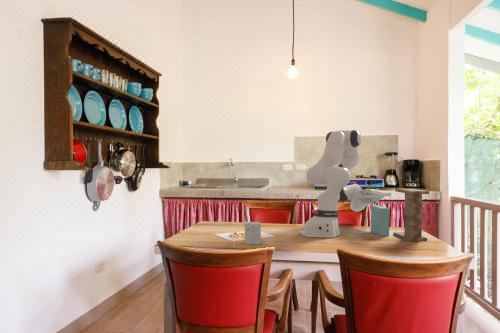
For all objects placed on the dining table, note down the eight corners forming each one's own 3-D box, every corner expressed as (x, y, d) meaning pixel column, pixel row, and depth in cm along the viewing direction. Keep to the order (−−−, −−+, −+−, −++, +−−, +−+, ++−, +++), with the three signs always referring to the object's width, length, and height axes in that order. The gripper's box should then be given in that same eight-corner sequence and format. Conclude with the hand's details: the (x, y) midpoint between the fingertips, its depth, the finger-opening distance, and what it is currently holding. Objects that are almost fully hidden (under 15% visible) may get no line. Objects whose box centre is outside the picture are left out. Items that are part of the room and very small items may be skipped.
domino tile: (384, 196, 180) (384, 192, 180) (366, 192, 202) (366, 189, 202) (391, 196, 181) (391, 192, 181) (372, 192, 203) (372, 189, 203)
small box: (260, 241, 170) (260, 221, 170) (260, 244, 164) (260, 223, 164) (245, 241, 170) (245, 221, 170) (244, 244, 165) (244, 223, 165)
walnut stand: (409, 242, 169) (410, 191, 168) (393, 235, 185) (393, 188, 184) (429, 241, 170) (430, 191, 170) (411, 234, 186) (412, 188, 185)
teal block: (380, 235, 183) (380, 208, 183) (370, 231, 195) (371, 205, 195) (389, 235, 184) (389, 208, 183) (378, 231, 196) (379, 205, 195)
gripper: (347, 194, 210) (355, 184, 198) (377, 193, 212) (387, 184, 200) (349, 203, 207) (357, 194, 195) (380, 202, 209) (390, 193, 197)
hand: (373, 189), depth 198 cm, fingers closed on domino tile, 4 cm apart
